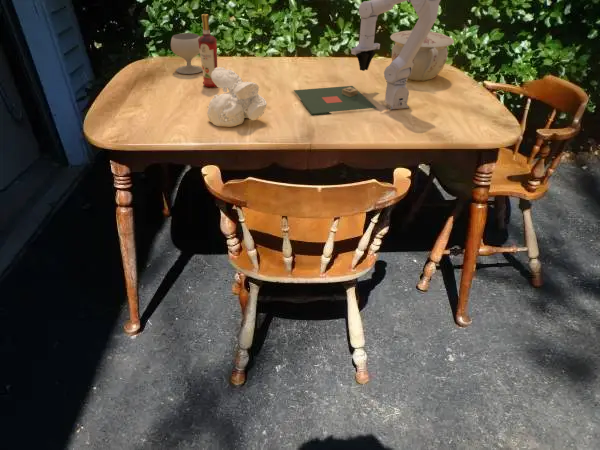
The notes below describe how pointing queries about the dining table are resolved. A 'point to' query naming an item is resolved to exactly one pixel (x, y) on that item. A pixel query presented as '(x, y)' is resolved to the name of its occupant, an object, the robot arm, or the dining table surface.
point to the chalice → (186, 51)
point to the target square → (331, 99)
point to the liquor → (207, 52)
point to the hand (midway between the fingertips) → (363, 69)
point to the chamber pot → (424, 54)
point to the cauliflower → (234, 100)
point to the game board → (319, 106)
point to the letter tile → (349, 91)
